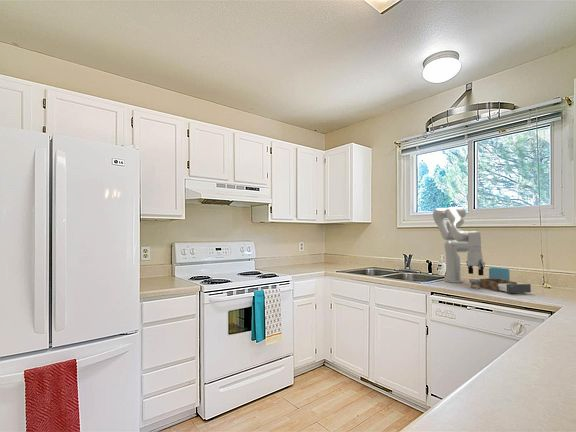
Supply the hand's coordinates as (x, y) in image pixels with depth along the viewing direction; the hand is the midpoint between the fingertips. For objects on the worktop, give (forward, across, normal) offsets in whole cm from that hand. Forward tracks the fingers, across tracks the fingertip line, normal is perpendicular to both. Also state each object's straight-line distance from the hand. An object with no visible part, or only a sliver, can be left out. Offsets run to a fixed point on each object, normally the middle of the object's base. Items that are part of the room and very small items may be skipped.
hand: (475, 274), depth 210 cm
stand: (+9, -1, 0) cm, 9 cm away
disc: (+6, -1, 0) cm, 6 cm away
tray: (+9, +12, +13) cm, 20 cm away
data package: (+9, -12, +27) cm, 31 cm away
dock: (+9, +4, +13) cm, 17 cm away
